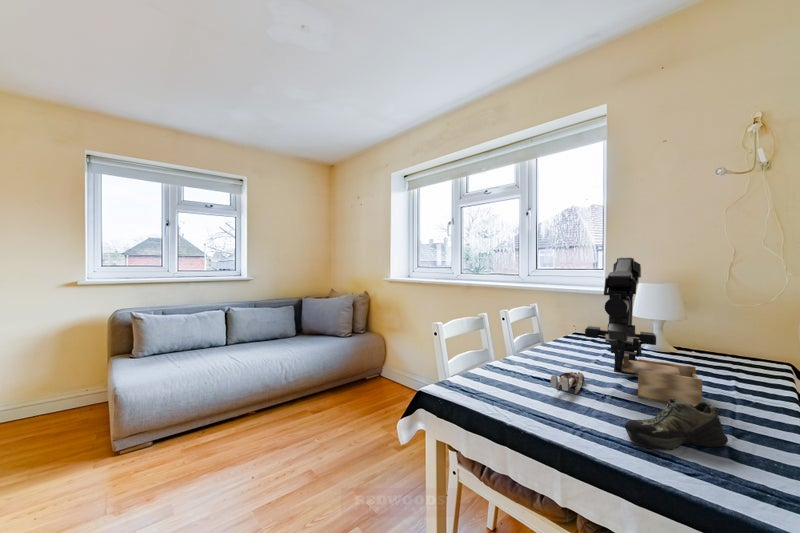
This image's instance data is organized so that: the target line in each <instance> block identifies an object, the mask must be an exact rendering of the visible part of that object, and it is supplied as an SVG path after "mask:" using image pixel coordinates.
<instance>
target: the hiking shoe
mask: <svg viewBox="0 0 800 533" xmlns="http://www.w3.org/2000/svg"><path fill="white" fill-rule="evenodd" d="M719 412H721V410H720V409H718V408H716V407H715V406H713V405H711V404H710V403H707V402H704V401H702V402H701V403H699V404H698V405H696V406H694V407H693V405H691V404H690V403H687V402H684V401H681V400H675V399H673V398H669V402H668V403H666V406H665V408H664V409H663V410H662V411H660V412H659V413H658V414H657V415H656V416H655V417H652V418H650V419H649V418H647V419H645V418H644V419H630V420H627V421H626V422H625V424H624V429H625V432H626V433H627V435H628V437H629V439H630V440H631V441H632V442H634V443H636V444H639V445H640V446H643V447H645V448H647V449H653V450H661V451H673V450H674V449H677V448H679V447H680V446H681V445H682V444H689V445H693V446H700V447H705V448H720V447H725V445H727V443H728V442H729V439H728V436H727V435H726V434H725V433H724V428H723V426H722V423H721V420H720V417H719Z"/></svg>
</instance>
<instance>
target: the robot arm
mask: <svg viewBox="0 0 800 533" xmlns="http://www.w3.org/2000/svg"><path fill="white" fill-rule="evenodd" d="M641 277H642V266H641V263H639V262H637V261H635V258H634V257H618V258H617V259H616V262H615V263H613V270H612V271H611V272H609V273H608V275H607V277H606V276H605V282H604V289H603V296H608V297H609V298H608V299H607V301H606V302H605V304H604V311H605V313H606V314H607V315H608V324H607V329H606V330H605V329H601V327H600V326H592V325H591V326H590V325H588V326H587V327H586V328H585V329H584V337H585V338H593V339H596V338H597V337H599V336H600V337H604V338H605V339H604V342H606V343H608V344H609V345H610V354H614V368H613V370H614V372H620V373H627V374H633V375H636V374H637V373H631V372H625V371H622V363H623V359H624V353H625V354H629V360H633V361H638V358H639V357H642V344H644V345H649V346H650V345H651V346H657V335H656V334H655V333H654V332H648V331H647V332H646V331H640V334H639V333H636V325H633V313H634V312H633V310H634V309H633V307H634V306H633V305H634V295H636V294H637V286H638V284H639V280H640V279H639V278H641ZM636 357H637V358H636Z"/></svg>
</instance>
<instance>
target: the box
mask: <svg viewBox="0 0 800 533" xmlns="http://www.w3.org/2000/svg"><path fill="white" fill-rule="evenodd" d="M637 361H640V362H647V363H654V364H660V365H667V366H674V367H678V369H679V372H680V374H681V376H679V375H672V374H666V373H659V372H653V371H647V370H640V369H638V374H637V376H638V377H637V378H638V381H637V382H638V383H637V398H638V399H643V400H649V401H654V402H658V403H664V404H668V402H669V398H673V399H675V400H681V401H684V402H687V403H690V404H691V405H693V407H694V406H696V405H698V404H699V403H701V402H703V379H702V378H699V377H698V375H697V373H696V371H697V370H696V369H697V368H696V366H693V365H687V364H678V363H672V362H664V361H658V360H650V359H643V358H642V359H641V358H637Z"/></svg>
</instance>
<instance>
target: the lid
mask: <svg viewBox="0 0 800 533" xmlns="http://www.w3.org/2000/svg"><path fill="white" fill-rule="evenodd" d="M638 369H640V370H647V371H653V372H659V373H666V374H672V375H679V376H681V374H680V372H679V369H678V367H674V366H667V365H660V364H654V363H647V362H640V361H638V360H637V361H633V360H629V354H625V353H624V359H623V363H622V371H625V372H631V373H636V374H637V375H638ZM625 372H624V373H625ZM631 373H630V374H631Z"/></svg>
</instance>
